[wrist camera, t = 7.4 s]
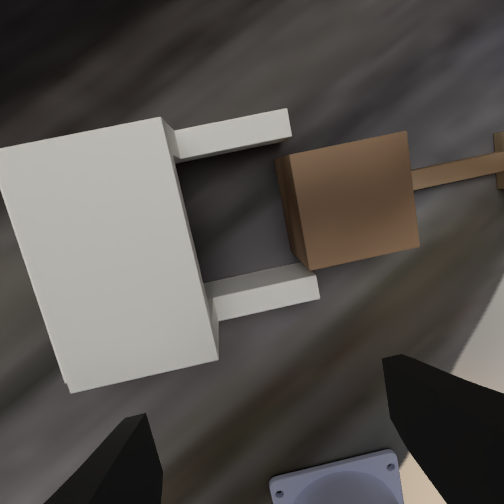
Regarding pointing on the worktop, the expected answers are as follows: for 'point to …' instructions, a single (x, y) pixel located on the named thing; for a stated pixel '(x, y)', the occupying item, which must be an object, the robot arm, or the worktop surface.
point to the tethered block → (363, 196)
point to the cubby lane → (132, 247)
